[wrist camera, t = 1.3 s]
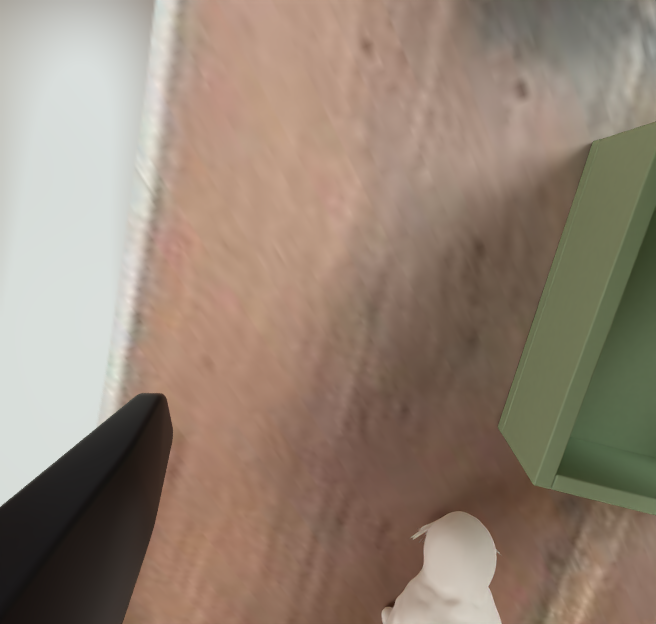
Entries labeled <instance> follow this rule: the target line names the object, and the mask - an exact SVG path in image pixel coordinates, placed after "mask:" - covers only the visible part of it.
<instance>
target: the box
mask: <svg viewBox="0 0 656 624" xmlns="http://www.w3.org/2000/svg"><path fill="white" fill-rule="evenodd" d="M498 429H499V430H500V432H501V433H502V435H503V436H504V438H505V440H506V441H507V443H508V445H509V446H510V448H511V449H512V451H513V453H514V454H515V456H516V457H517V459H518V461H519V462H520V464H521V466H522V467H523V469H524V470H525V472H526V474H527V475H528V477H529V478H530V480H531V482H532V483H533V485H535V486H539V487H543V488H547V489H552V490H555V491H560V492H564V493H568V494H572V495H576V496H580V497H584V498H588V499H592V500H596V501H600V502H604V503H608V504H612V505H616V506H620V507H624V508H628V509H632V510H636V511H640V512H644V513H648V514H652V515H656V122H653V123H650V124H647V125H644V126H641V127H638V128H635V129H631V130H628V131H625V132H622V133H619V134H616V135H613V136H610V137H606V138H603V139H599V140H596V141H593V143H592V146H591V149H590V152H589V155H588V158H587V161H586V164H585V167H584V170H583V173H582V176H581V179H580V182H579V185H578V188H577V191H576V194H575V197H574V200H573V203H572V206H571V209H570V212H569V215H568V218H567V221H566V224H565V227H564V230H563V233H562V236H561V239H560V242H559V245H558V248H557V251H556V254H555V257H554V260H553V263H552V266H551V269H550V272H549V275H548V278H547V281H546V284H545V287H544V290H543V293H542V296H541V299H540V302H539V305H538V308H537V311H536V314H535V317H534V320H533V323H532V326H531V329H530V332H529V335H528V338H527V341H526V344H525V347H524V350H523V353H522V356H521V359H520V362H519V365H518V368H517V371H516V374H515V377H514V380H513V383H512V386H511V389H510V392H509V395H508V398H507V401H506V404H505V407H504V410H503V413H502V416H501V419H500V422H499V425H498Z"/></svg>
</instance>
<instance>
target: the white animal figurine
mask: <svg viewBox="0 0 656 624" xmlns="http://www.w3.org/2000/svg"><path fill="white" fill-rule="evenodd" d="M421 529H422V530H421ZM419 530H420V531H419V532H417V533H416V534H415V535H413V536H412V537H411V538H413V537H414V538H413V539H415V538H417V537H418V536H420V535H421V534H423V533H424V532H426V531H427V532H428V533H427V532H426V533H427V536H426V539H425V543H424V564H423V567H422V570H421V571H420V573H419V574H418V575H417V576H416V577H414V578H413V579H412V580H411V581H410V582H409V583H408V584H407V586H406V588H405V589H404V591H403V592H402V593H401V594H400V595H399V596H398V597H397V599H396V601H395V605H394V607H393V608H392V607H385V608H384V609H383V611H382V622H383V624H502V623H501V619H500V616H499V614H498V611H497V609H496V606H495V603H494V600H493V597H492V593H491V591H490V589H489V588H488V586H489V584H490V582H491V580H492V578H493V576H494V573H495V569H496V559H497V557H496V553H497V552H498V551H497V549H496V548H495V545H494V541H493V539H492V537H491V535H490V533H489V531H488V530H487V529H486V527H485V526H484V525H483V524H482V523H481V521H480V520H479V519H477V518H476V517H474V516H472V515H470V514H468V513H466V512H463V511H455V512H451V513H448V514H446V515H445V516H444V517H442V518H440V519H438V520H436V521H435V522H432V523H429V524H427V525H425V526H423V527H421V528H420V529H419ZM415 536H416V537H415ZM423 537H424V536H423ZM413 539H412V540H413ZM420 541H421V540H420ZM423 542H424V541H423ZM423 542H422V543H423ZM496 551H497V552H496ZM498 553H499V552H498ZM499 554H500V553H499Z"/></svg>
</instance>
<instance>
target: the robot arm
mask: <svg viewBox="0 0 656 624" xmlns="http://www.w3.org/2000/svg"><path fill="white" fill-rule="evenodd" d="M172 439H173V427H172V422H171V417H170V413H169V408H168V403H167V399H166V397H165V395H163V394H161V393H141V394H138V395H137V396H135V397H134V398H133V399H132V400H130V401H129V402H128V403H127V404H125V405H124V406H123V407H122V408H121V409H119V410H118V411H117V412H116V413H114V414H113V415H112V416H111V417H110V418H108V419H107V420H106V421H105V422H103V423H102V424H101V425H100V426H99V427H97V428H96V429H95V430H94V431H92V433H90V434H89V435H88V436H86V437H85V438H84V439H83V440H81V441H80V442H79V443H78V444H77V445H75V446H74V447H73V448H72V449H70V450H69V451H68V452H67V453H66V454H64V455H63V456H62V457H61V458H59V459H58V460H57V461H56V462H55V463H53V464H52V465H51V466H50V467H48V468H47V469H46V470H45V471H44V472H42V473H41V474H40V475H39V476H37V477H36V478H35V479H34V480H33V481H31V482H30V483H29V484H28V485H26V486H25V487H24V488H23V489H22V490H20V491H19V492H18V493H17V494H15V495H14V496H13V497H12V498H10V499H9V500H8V501H7V502H6V503H4V504H3V505H2V506H1V507H0V624H122V623H123V620H124V617H125V614H126V611H127V608H128V605H129V602H130V599H131V596H132V593H133V590H134V587H135V584H136V581H137V578H138V575H139V572H140V569H141V566H142V563H143V560H144V557H145V554H146V550H147V547H148V544H149V541H150V538H151V535H152V531H153V528H154V524H155V520H156V516H157V511H158V506H159V502H160V497H161V492H162V487H163V483H164V478H165V473H166V468H167V464H168V459H169V454H170V449H171V445H172Z"/></svg>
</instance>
